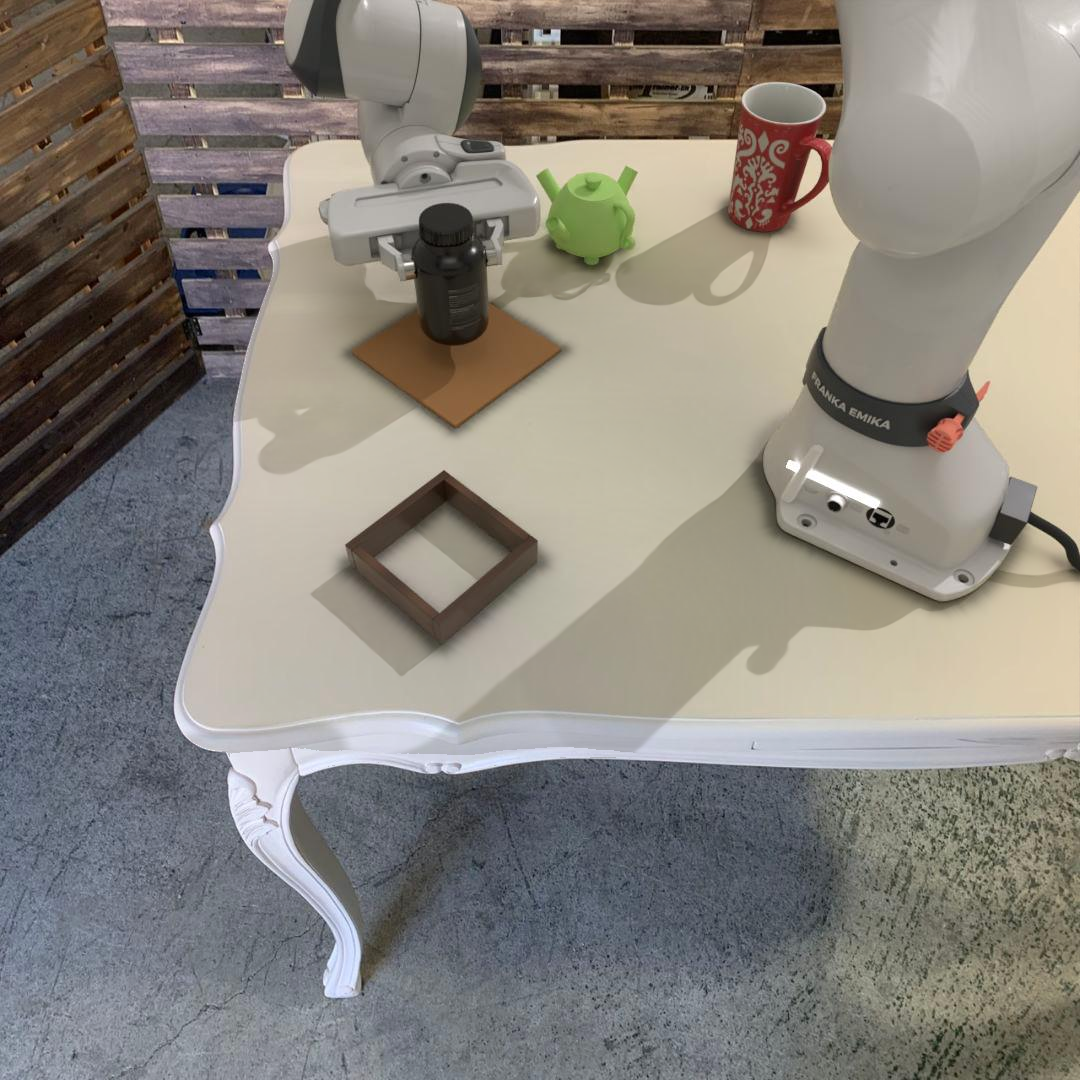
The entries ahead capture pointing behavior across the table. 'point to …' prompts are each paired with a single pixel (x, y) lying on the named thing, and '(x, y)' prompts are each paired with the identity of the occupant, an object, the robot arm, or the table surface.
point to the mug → (775, 154)
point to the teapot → (590, 213)
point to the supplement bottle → (450, 276)
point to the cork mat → (457, 363)
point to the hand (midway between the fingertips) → (452, 266)
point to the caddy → (412, 513)
